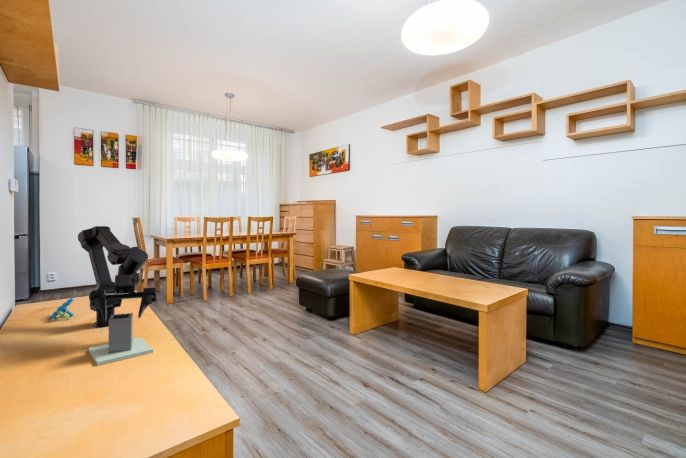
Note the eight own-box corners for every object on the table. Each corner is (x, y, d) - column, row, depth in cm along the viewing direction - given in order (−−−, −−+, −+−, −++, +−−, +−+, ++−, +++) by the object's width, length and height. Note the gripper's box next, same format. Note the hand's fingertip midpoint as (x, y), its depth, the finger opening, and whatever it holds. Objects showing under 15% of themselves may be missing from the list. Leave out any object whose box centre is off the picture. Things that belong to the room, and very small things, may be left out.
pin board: (88, 350, 102) (88, 334, 102) (139, 339, 112) (140, 325, 112) (97, 365, 93) (97, 348, 92) (153, 352, 103) (153, 336, 102)
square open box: (111, 346, 104) (111, 314, 103) (132, 343, 106) (132, 313, 106) (108, 353, 99) (108, 320, 98) (130, 350, 101) (131, 317, 101)
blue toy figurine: (51, 311, 136) (73, 293, 138) (64, 319, 138) (85, 301, 141) (43, 322, 126) (67, 303, 129) (58, 331, 129) (81, 312, 131)
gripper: (90, 265, 106) (81, 309, 97) (157, 263, 115) (155, 303, 105) (95, 285, 113) (87, 327, 104) (157, 282, 122) (155, 320, 112)
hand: (122, 319), depth 106 cm, fingers open, 9 cm apart
